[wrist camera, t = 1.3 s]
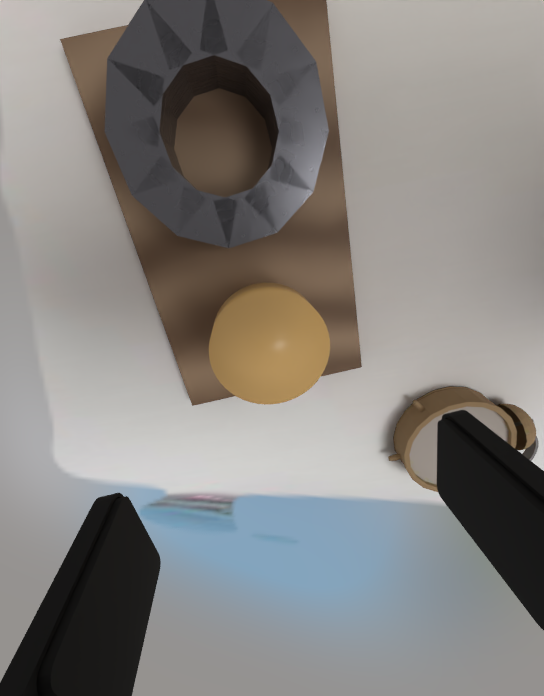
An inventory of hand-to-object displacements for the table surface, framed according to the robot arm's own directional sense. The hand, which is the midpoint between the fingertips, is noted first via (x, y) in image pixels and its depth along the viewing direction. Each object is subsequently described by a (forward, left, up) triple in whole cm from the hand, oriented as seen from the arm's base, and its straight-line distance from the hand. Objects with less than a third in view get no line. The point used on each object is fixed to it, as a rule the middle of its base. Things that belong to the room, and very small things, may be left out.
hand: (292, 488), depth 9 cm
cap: (0, 0, -18) cm, 18 cm away
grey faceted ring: (+10, -7, -18) cm, 22 cm away
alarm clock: (-25, -5, -19) cm, 32 cm away
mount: (+5, -4, -19) cm, 20 cm away
